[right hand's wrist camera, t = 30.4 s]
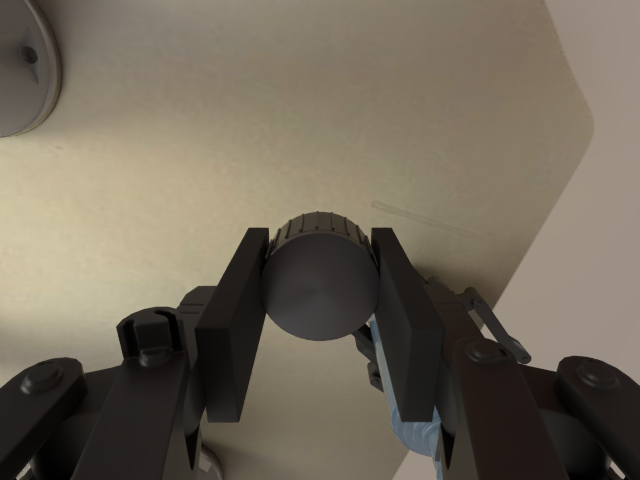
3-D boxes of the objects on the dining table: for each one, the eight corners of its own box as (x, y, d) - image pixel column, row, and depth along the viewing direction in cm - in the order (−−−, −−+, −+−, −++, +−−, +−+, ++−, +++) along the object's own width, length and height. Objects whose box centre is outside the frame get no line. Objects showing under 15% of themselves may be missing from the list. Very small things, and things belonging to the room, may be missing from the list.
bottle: (434, 278, 42) (552, 464, 21) (402, 324, 45) (478, 534, 23) (382, 253, 41) (449, 422, 20) (351, 301, 43) (383, 500, 22)
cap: (247, 237, 14) (234, 263, 12) (347, 192, 13) (352, 210, 11) (296, 321, 15) (292, 358, 13) (389, 283, 15) (400, 316, 12)
